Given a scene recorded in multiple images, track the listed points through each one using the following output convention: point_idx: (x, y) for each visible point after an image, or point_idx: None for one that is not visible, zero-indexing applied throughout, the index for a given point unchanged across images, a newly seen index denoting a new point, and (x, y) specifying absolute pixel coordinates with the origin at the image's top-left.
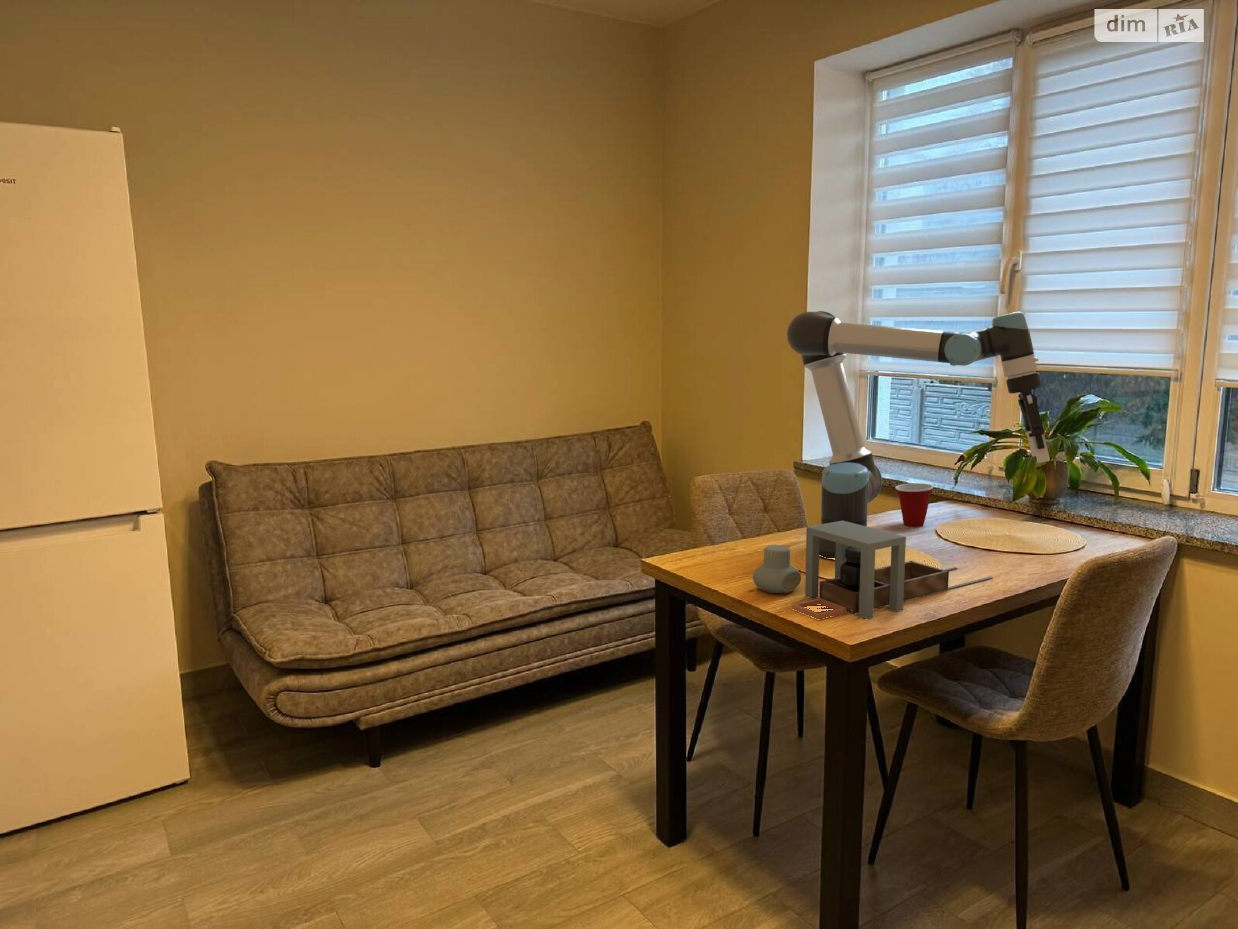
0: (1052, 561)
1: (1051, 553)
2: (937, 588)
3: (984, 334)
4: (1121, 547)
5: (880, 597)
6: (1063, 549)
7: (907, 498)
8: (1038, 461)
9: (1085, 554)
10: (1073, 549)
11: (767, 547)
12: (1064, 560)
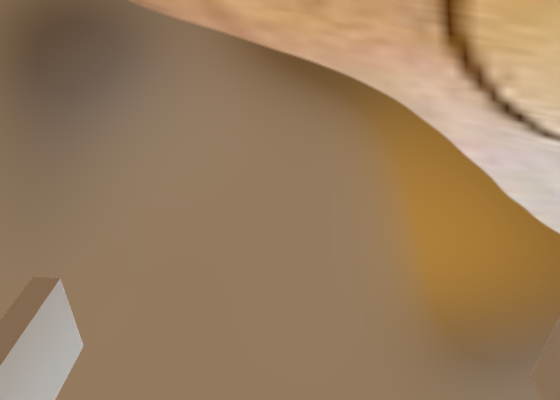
0: (349, 20)
1: (463, 33)
2: None
3: None
4: (535, 211)
5: None
6: (521, 79)
7: None
8: (26, 291)
9: (453, 124)
10: (519, 106)
11: None
12: (369, 58)
